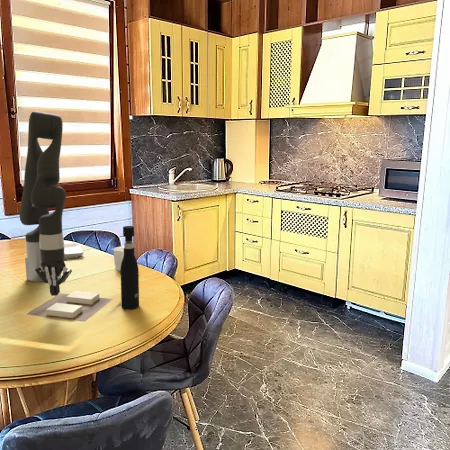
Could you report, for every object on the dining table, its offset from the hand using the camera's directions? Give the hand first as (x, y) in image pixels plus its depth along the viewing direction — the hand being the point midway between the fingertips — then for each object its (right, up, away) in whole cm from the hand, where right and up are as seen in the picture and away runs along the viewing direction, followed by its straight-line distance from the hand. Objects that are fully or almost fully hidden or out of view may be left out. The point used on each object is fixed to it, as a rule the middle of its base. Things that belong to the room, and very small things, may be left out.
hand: (55, 294), depth 141 cm
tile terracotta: (-2, -5, +2) cm, 6 cm away
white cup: (+10, +3, +54) cm, 55 cm away
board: (+3, -6, +7) cm, 10 cm away
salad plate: (-28, +8, +74) cm, 80 cm away
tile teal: (0, -3, +13) cm, 13 cm away
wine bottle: (+23, -6, +11) cm, 26 cm away
